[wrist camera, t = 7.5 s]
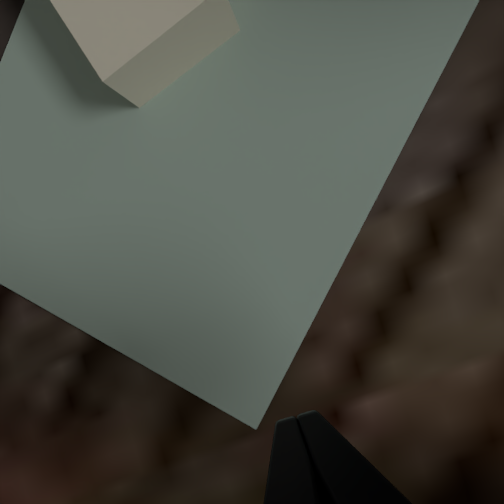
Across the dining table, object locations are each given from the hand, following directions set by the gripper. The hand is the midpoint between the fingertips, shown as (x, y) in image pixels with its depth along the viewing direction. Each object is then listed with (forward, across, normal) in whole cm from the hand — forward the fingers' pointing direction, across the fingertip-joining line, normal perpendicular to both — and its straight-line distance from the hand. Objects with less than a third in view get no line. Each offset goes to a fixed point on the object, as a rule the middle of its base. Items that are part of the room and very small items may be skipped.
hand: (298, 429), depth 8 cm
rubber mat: (+16, +1, -4) cm, 16 cm away
